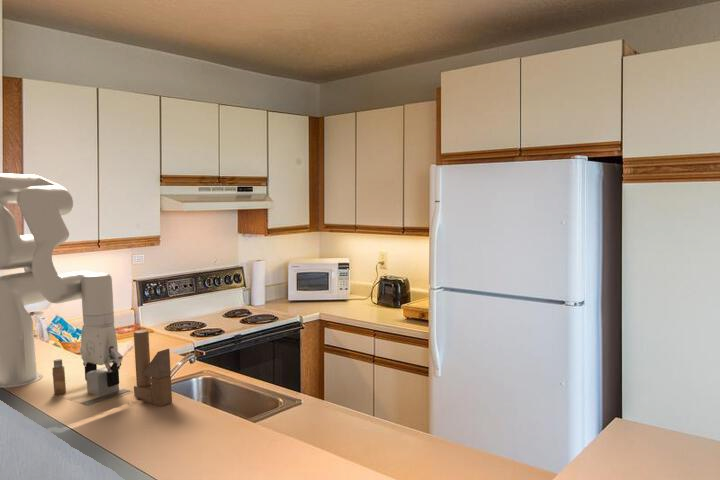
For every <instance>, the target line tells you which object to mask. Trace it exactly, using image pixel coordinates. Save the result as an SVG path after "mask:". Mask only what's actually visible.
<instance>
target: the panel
mask: <svg viewBox="0 0 720 480" xmlns="http://www.w3.org/2000/svg"><path fill="white" fill-rule="evenodd" d="M129 394H134V391H131V390H129V389H126V388H120V387H119V389H118V390H115V391H112V392H109V393H106V394H103V395H100V396H97V395H93V394H90V393H87V383H84V384H80V385H78V386H74V387H72V388H68V389H66V393H64V394H61V395H55V394H54V393H52V396H55V397H59V398H62V399H65V400H69V401H72V402H75V403H78V404H81V405H84V406H88V407H91V408H92V407H95V406H99V405H100V404H101V405H102V404H104V403H106V402H109V401H113V400H115V399H116V400H117V399H118V398H122V397H123V396H127V395H129Z"/></svg>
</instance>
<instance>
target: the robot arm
mask: <svg viewBox="0 0 720 480" xmlns="http://www.w3.org/2000/svg"><path fill="white" fill-rule="evenodd" d="M5 205H17V206H18V208H19V210H20V213H21V214H22V217H23V219H24V221H25V223H26V225H27V227H28V229H29V231H30V233H31V234H22V235H20V233H19V230H18V226H17V221H16V219H15V217H14V215H13V214H12V212H11V211H10V209H8V208H7V207H5ZM73 207H74V200H73V196H72V195H71V193H70V192H69V190H67V188H66V187H64V186H62V185H60V184H58V183H56V182H53V181H51V180H49V179H47V178H44V177H43V176H39V175H36V174H28V173H27V174H22V173H21V174H20V173H0V271H9V270H17V269H23V270H24V272H18V273H16V272H15V273H11V274H5V275H1V276H0V388H5V389H6V388H7V389H8V388H15V387H21V386H26V385H29V384H34V383H36V382H39V381H41V380H42V379H43V378H44V374H43V373H40V372H38V371H37V362H36V360H37V359H36V344H35V335H34V334H35V332H34V331H35V330H34V321H33V318H32V316H31V314H30V313H29V312H28V310H27V309H26V308H25V306H28V305H33V304H38V303H42V302H46V301H48V302H49V303H51V304H56V305H57V304H63V303H67V302H72V301H77V300H81V306H82V327H81V336H80V338H81V339H80V347H79V353H80V355H81V360H82V361H83V363H82V364H83V365H82V366H84V381H86V382H87V378H86V373H87V372H90V371H94V370H97V369H98V367H97V365H98V366H104V367H106V368H107V370H108V372H107V386H108V387H111V386H115V385H118V384H119V385H120V374H119V373H120V372H119V371H120V369H121V368H120V367H121V365H122V361H123V358H124V357H123V355H122V354H121V353H120V352H119V348H118V339H117V332H116V327H115V311H114V297H113V295H114V294H113V278H112V276H111V275H110V273H106V272H93V271H90V270H79V271H78V270H77V271H71V272H63V273H59V274H58V272H57V271H56V268H55V265H54V263H53V252H54V250H55V248H57V247H58V246H61V244H63V243H65V242H66V241H67V240H68V239H69V237H70V232H69V231H70V230H68V228H67V225H66V224H65V221H64V220H63V217H62V216H65V215H67V214H69V213H70V212H71V211H72V209H73ZM111 364H112V365H111Z"/></svg>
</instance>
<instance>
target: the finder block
mask: <svg viewBox="0 0 720 480" xmlns="http://www.w3.org/2000/svg"><path fill="white" fill-rule="evenodd" d="M107 372H108V370H107V368H106V366H104V367H100V368H97V370H94V371H90V372H87V373H86V378H87V381H86V384H87V393H90V394H93V395H97V396H100V395H103V394H106V393H109V392H112V391H115V390H118V389H119V388H120V387H119V386H120V383H119V384H118V385H115V386H111V387H108V386H107Z"/></svg>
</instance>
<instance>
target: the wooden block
mask: <svg viewBox="0 0 720 480" xmlns="http://www.w3.org/2000/svg"><path fill="white" fill-rule="evenodd" d="M149 337H150V335H149V330H146V329H140V330H136V331H134V332H133V343H134V344H133V345H134V346H133V347H134V358H135V359H134V361H135V362H134V363H135V377H136V385H134V386H133V394H134V397H136V398H137V399H136V400H137V401H141V402H145V403H147V404H152V405H155V406H158V407H164V406H166V405H168V404H170V403H172V402H173V396H172V395H173V393H172V392H173V391H172V376H171V375H172V373H171V372H172V371H171V352H170V348H165V349H163V350H159V351H157V352H156V354H155V355H154V357H153V358H152V359H151V356H150V354H151V352H150V351H151V350H150V338H149Z"/></svg>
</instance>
